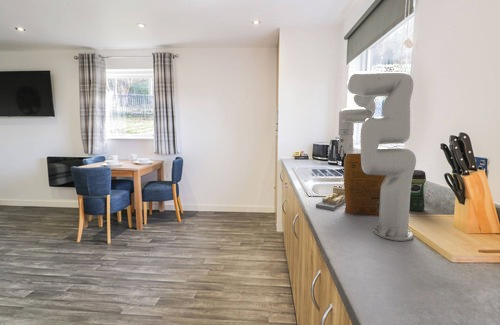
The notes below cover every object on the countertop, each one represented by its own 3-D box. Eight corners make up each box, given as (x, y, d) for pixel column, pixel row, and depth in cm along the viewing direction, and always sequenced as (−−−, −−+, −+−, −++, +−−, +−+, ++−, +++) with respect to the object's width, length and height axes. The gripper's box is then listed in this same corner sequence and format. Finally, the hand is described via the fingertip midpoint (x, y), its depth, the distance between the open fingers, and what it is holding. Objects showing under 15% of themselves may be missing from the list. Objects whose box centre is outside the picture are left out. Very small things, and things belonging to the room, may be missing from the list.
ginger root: (335, 204, 129) (336, 194, 128) (322, 201, 133) (322, 192, 133) (346, 197, 140) (347, 188, 139) (334, 195, 144) (334, 187, 144)
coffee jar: (421, 207, 127) (423, 169, 124) (425, 212, 119) (428, 171, 117) (398, 205, 130) (400, 168, 127) (401, 210, 123) (403, 171, 120)
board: (333, 210, 125) (333, 200, 124) (315, 207, 130) (316, 197, 130) (349, 200, 140) (349, 192, 139) (332, 198, 146) (332, 189, 145)
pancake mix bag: (389, 218, 113) (393, 153, 109) (342, 215, 117) (344, 153, 114) (385, 213, 120) (388, 151, 116) (341, 210, 124) (342, 151, 120)
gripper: (347, 133, 134) (346, 169, 136) (357, 132, 145) (356, 165, 148) (333, 133, 138) (332, 167, 141) (344, 131, 150) (343, 163, 152)
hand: (344, 166), depth 144 cm, fingers closed
